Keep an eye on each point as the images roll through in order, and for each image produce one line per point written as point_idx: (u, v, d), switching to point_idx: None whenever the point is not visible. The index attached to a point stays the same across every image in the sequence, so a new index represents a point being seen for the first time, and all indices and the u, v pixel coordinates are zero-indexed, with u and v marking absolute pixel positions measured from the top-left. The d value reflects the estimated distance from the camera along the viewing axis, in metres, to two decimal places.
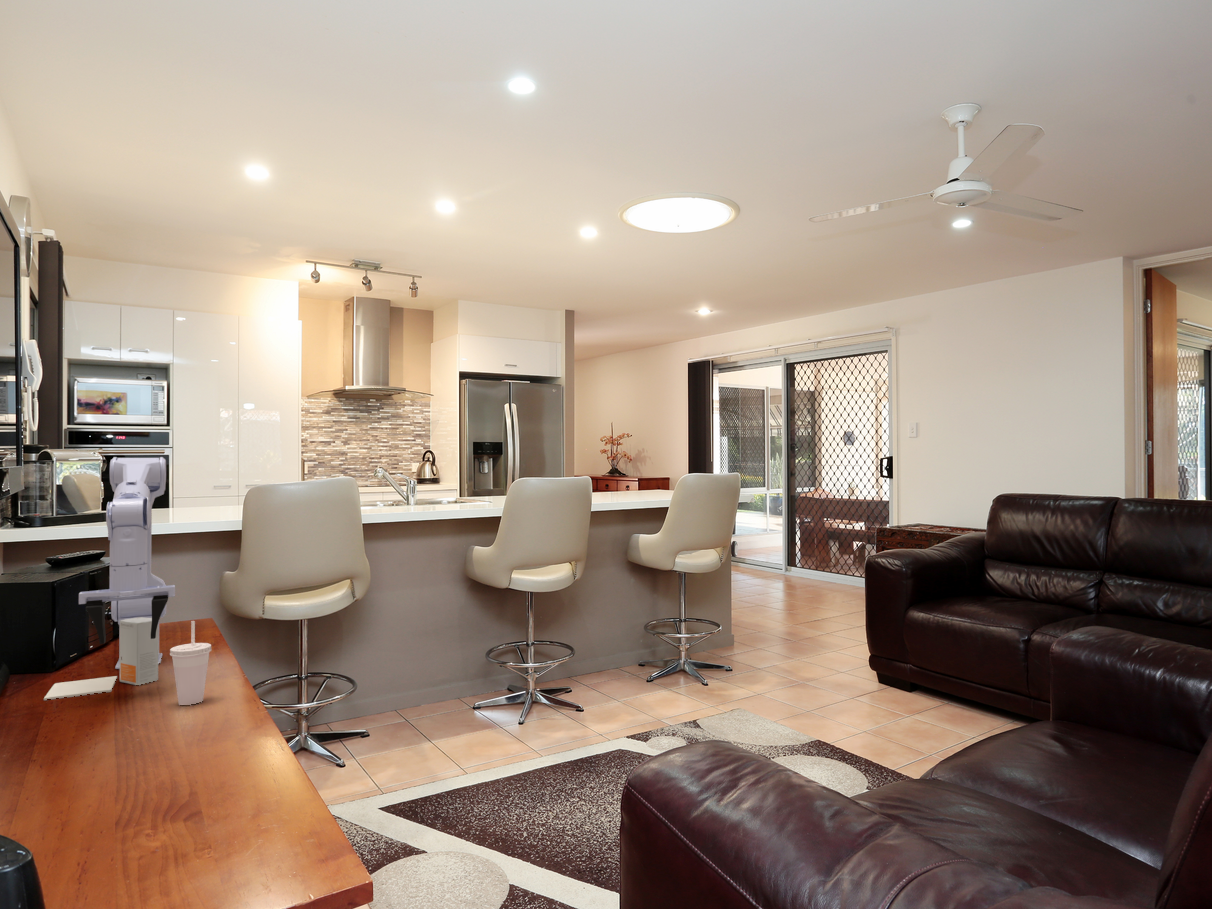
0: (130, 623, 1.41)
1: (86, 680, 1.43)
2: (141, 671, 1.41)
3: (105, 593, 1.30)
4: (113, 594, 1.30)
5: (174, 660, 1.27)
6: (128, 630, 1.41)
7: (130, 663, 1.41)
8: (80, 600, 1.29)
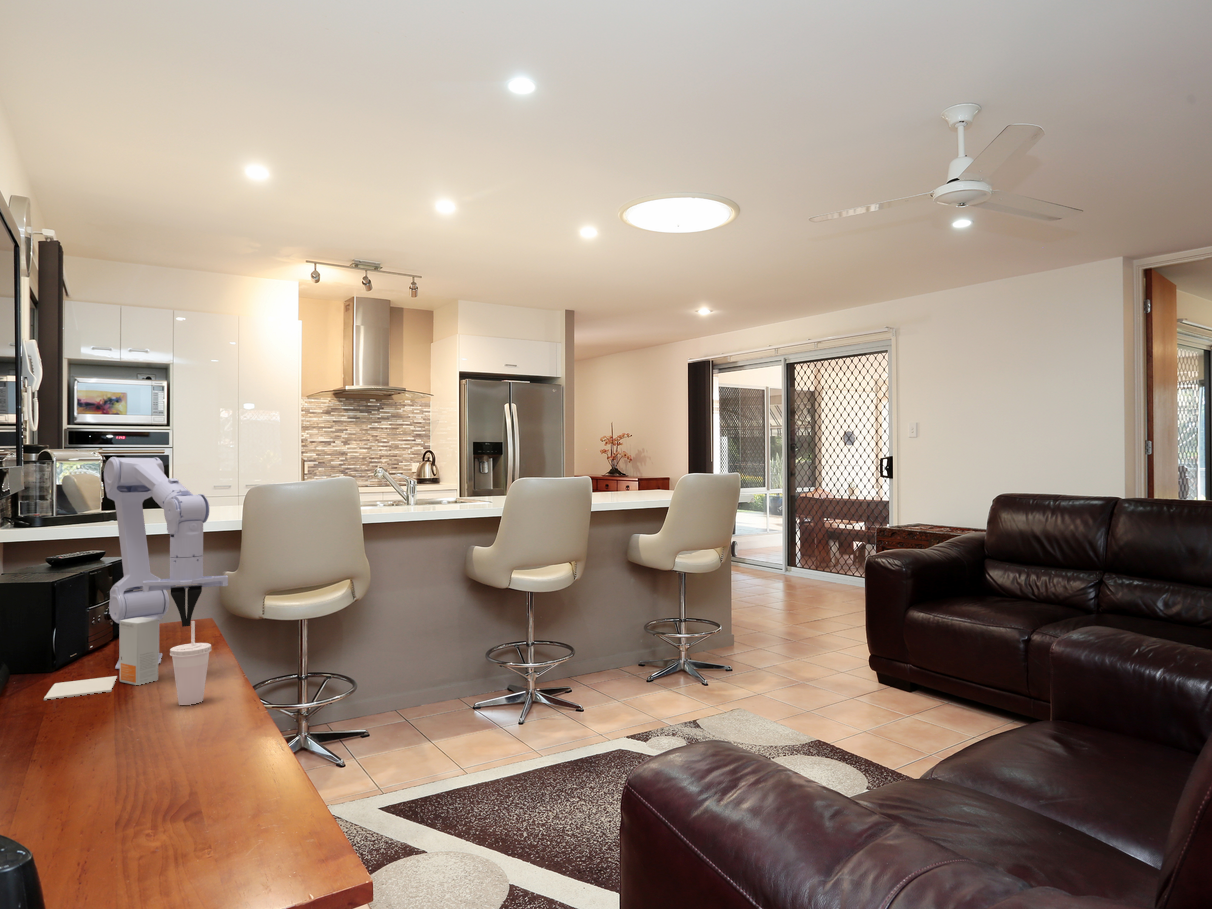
0: (130, 623, 1.41)
1: (86, 680, 1.43)
2: (141, 671, 1.41)
3: (166, 582, 1.42)
4: (174, 583, 1.42)
5: (174, 660, 1.27)
6: (128, 630, 1.41)
7: (130, 663, 1.41)
8: (144, 588, 1.41)
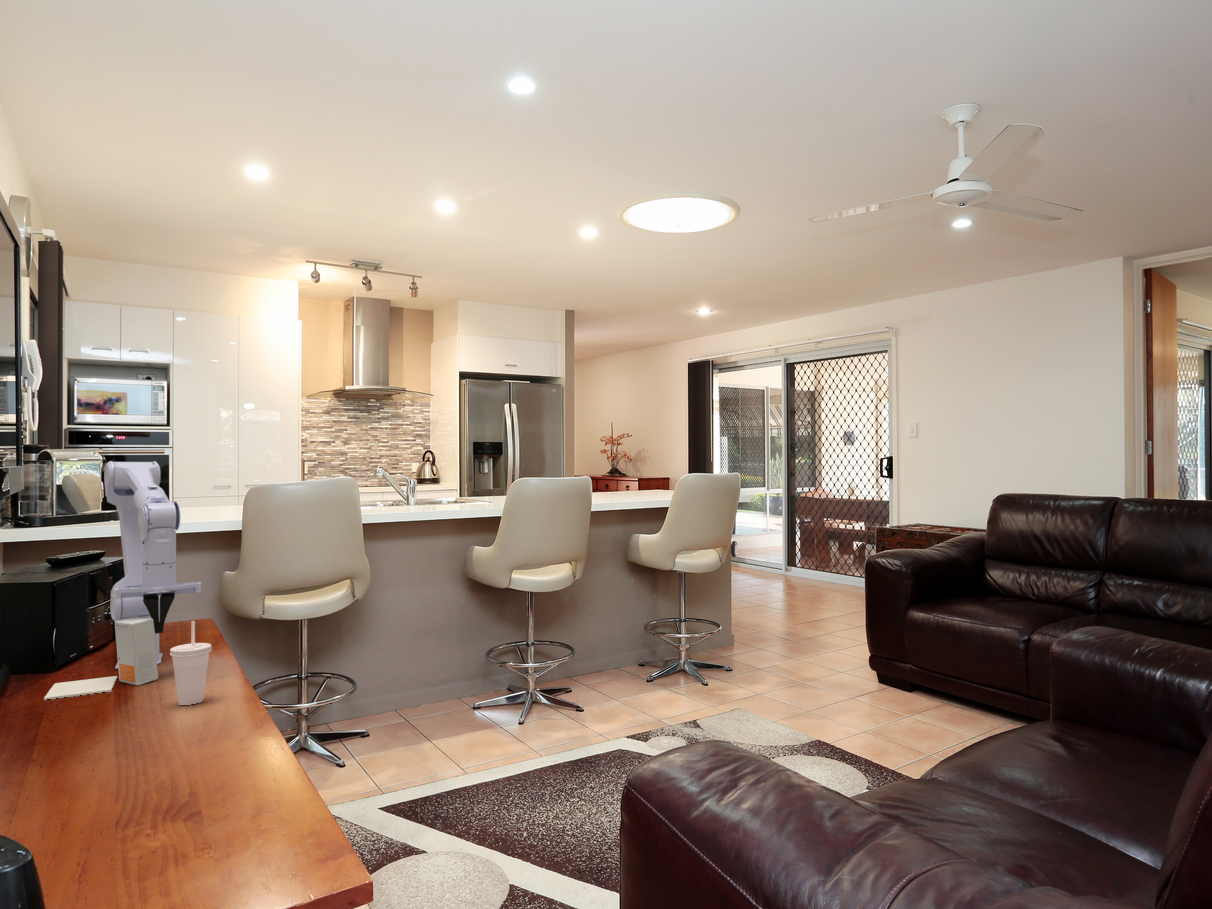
0: (125, 624, 1.40)
1: (86, 680, 1.43)
2: (140, 671, 1.40)
3: (138, 589, 1.43)
4: (146, 590, 1.43)
5: (174, 660, 1.27)
6: (123, 631, 1.41)
7: (128, 663, 1.41)
8: (116, 595, 1.42)
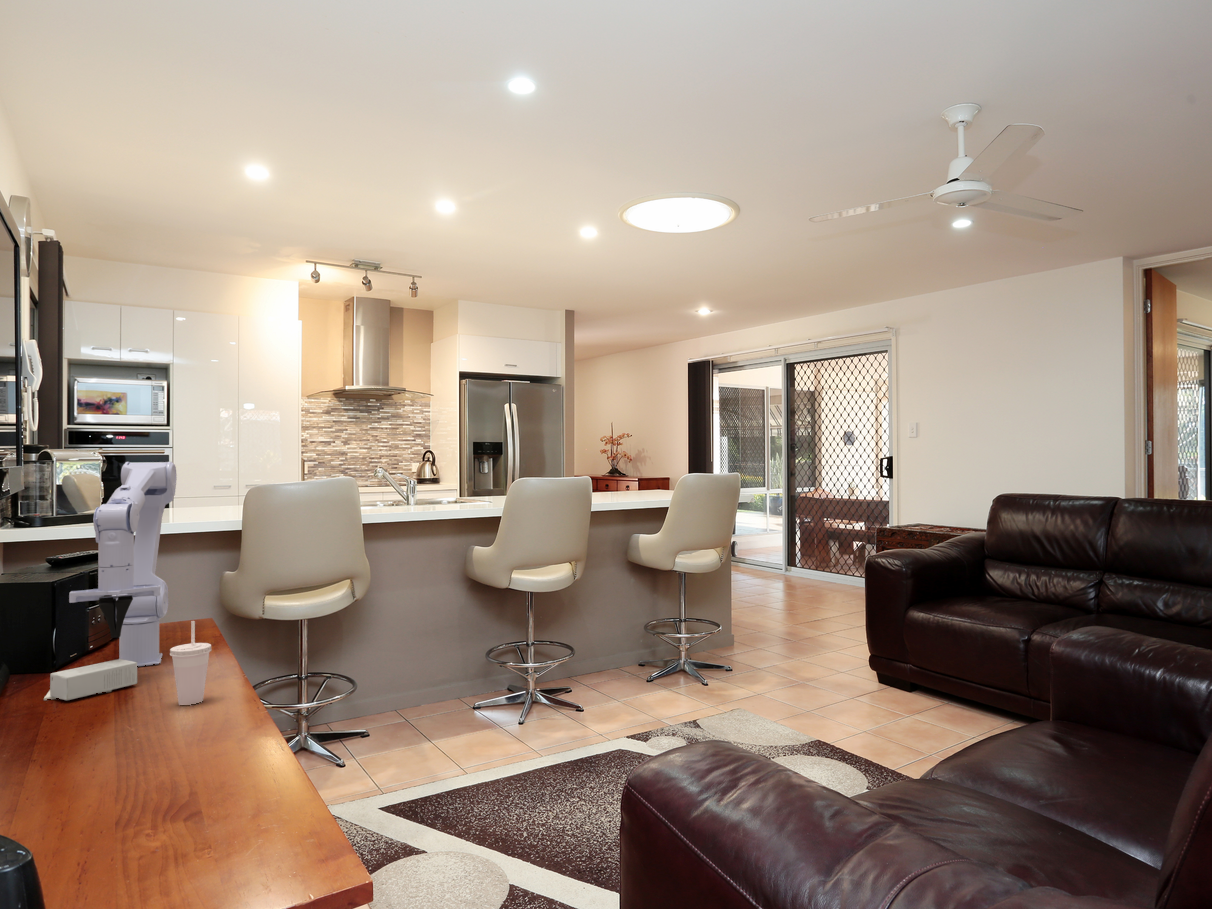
0: (61, 698, 1.31)
1: None
2: (123, 682, 1.37)
3: (94, 592, 1.39)
4: (101, 593, 1.39)
5: (174, 660, 1.27)
6: None
7: None
8: (70, 599, 1.38)
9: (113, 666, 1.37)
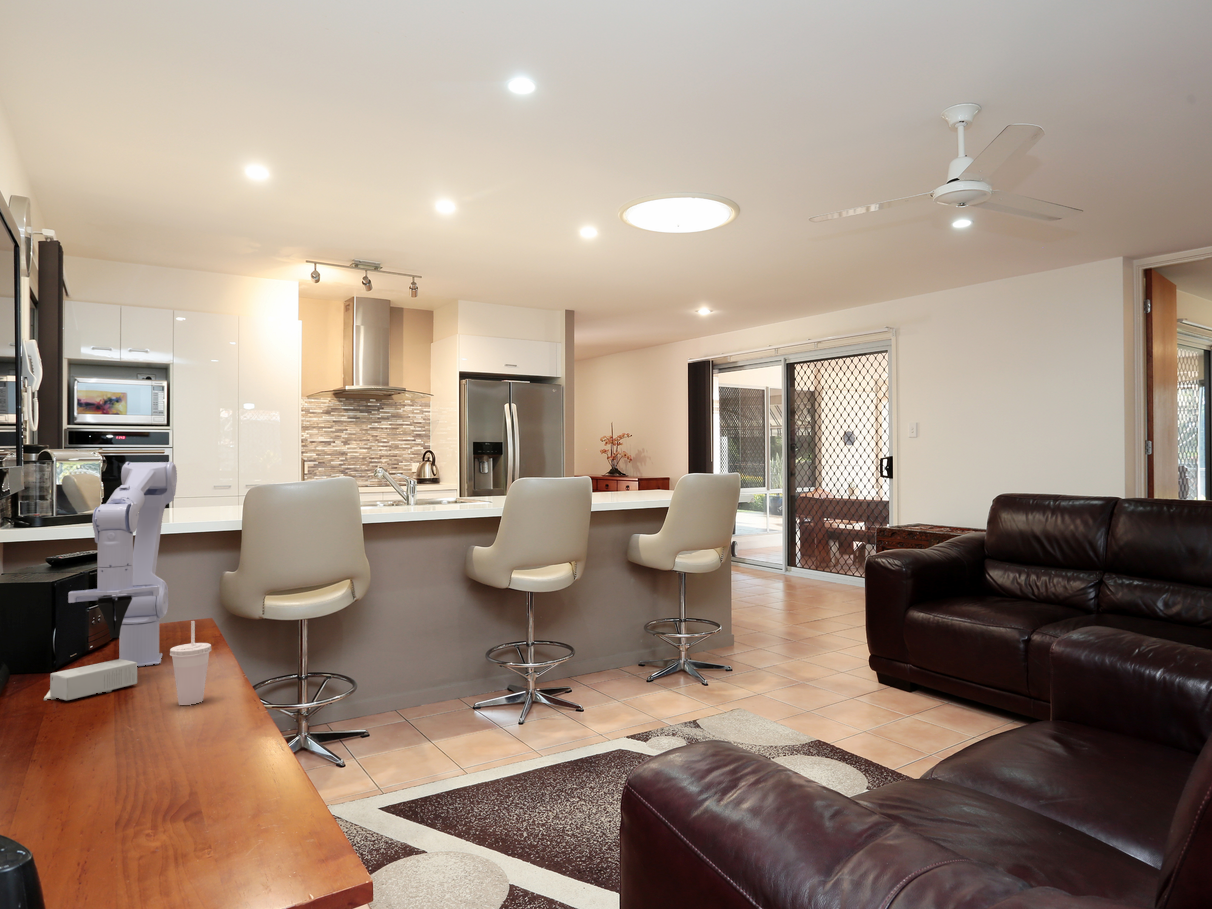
0: (61, 698, 1.31)
1: None
2: (123, 682, 1.37)
3: (93, 593, 1.39)
4: (100, 593, 1.39)
5: (174, 660, 1.27)
6: None
7: None
8: (70, 599, 1.38)
9: (113, 666, 1.37)
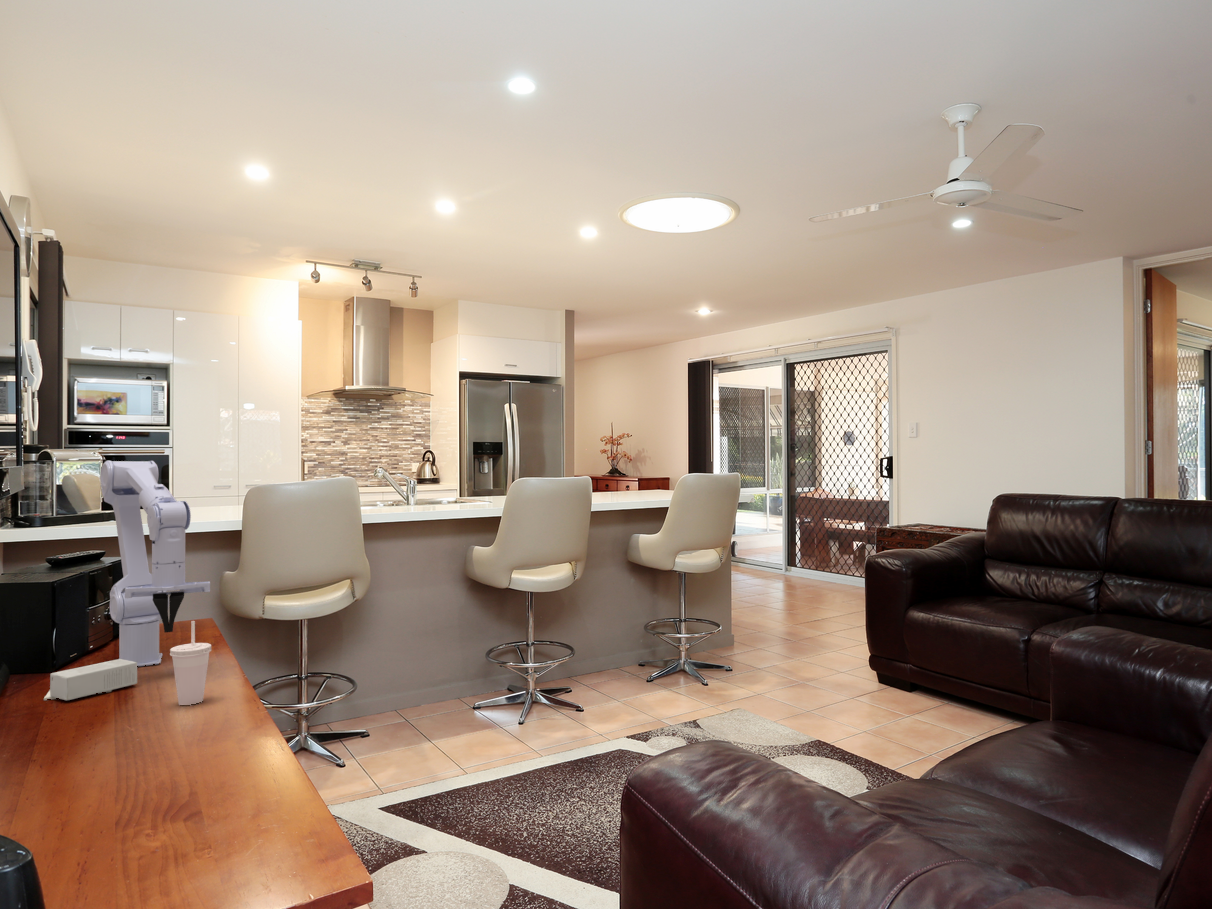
0: (61, 698, 1.31)
1: None
2: (123, 682, 1.37)
3: (148, 588, 1.43)
4: (156, 589, 1.43)
5: (174, 660, 1.27)
6: None
7: None
8: (126, 595, 1.42)
9: (113, 666, 1.37)
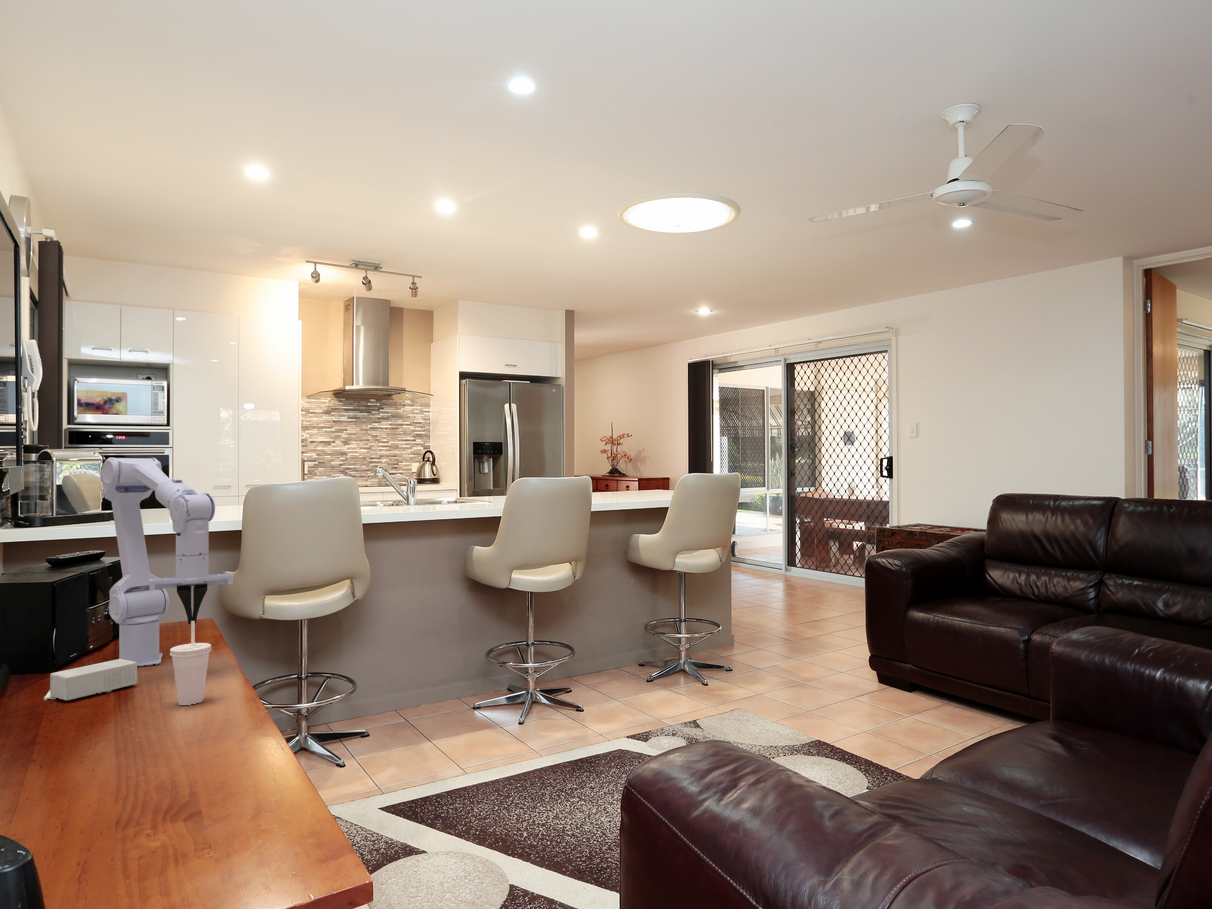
0: (61, 698, 1.31)
1: None
2: (123, 682, 1.37)
3: (172, 580, 1.44)
4: (180, 581, 1.44)
5: (174, 660, 1.27)
6: None
7: None
8: (150, 586, 1.43)
9: (113, 666, 1.37)
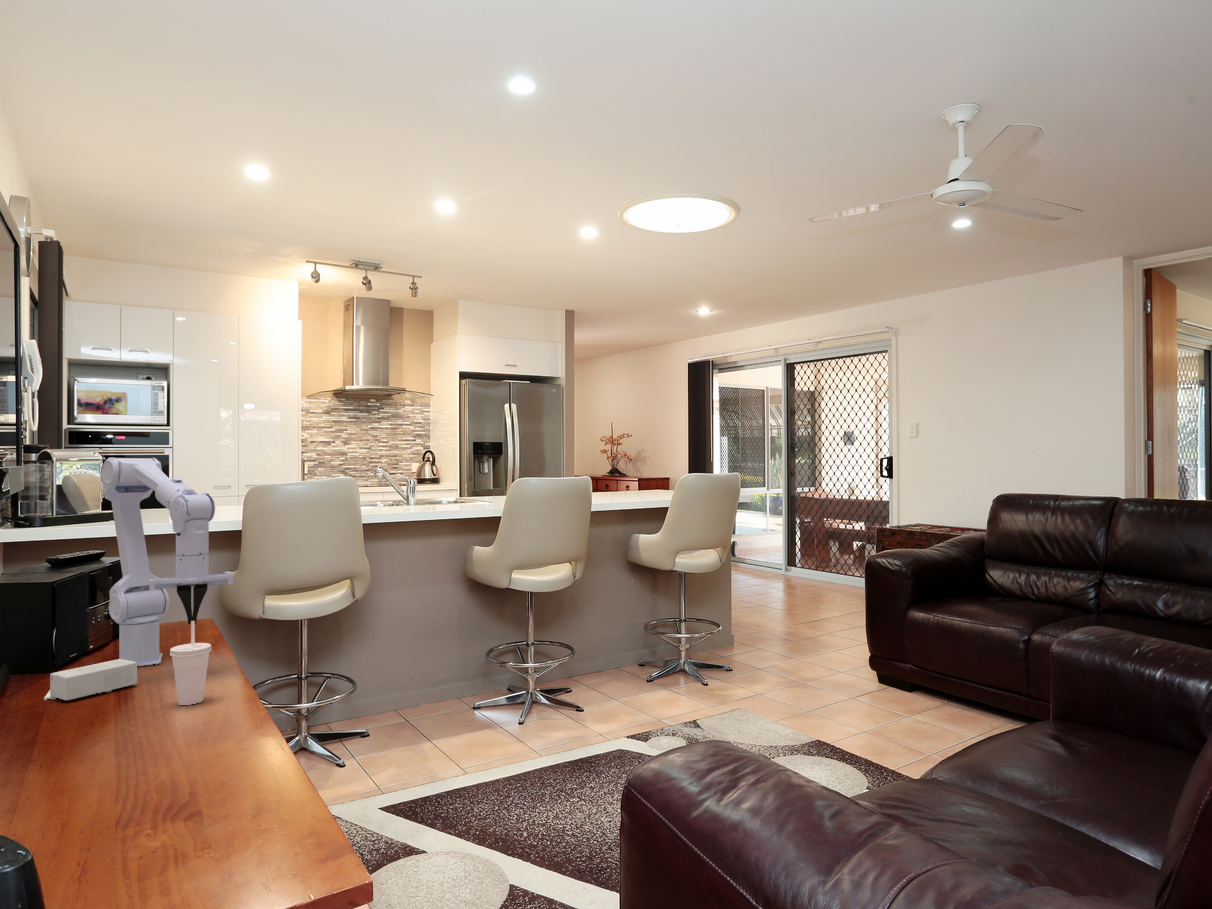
0: (61, 698, 1.31)
1: None
2: (123, 682, 1.37)
3: (172, 580, 1.44)
4: (180, 581, 1.44)
5: (174, 660, 1.27)
6: None
7: None
8: (150, 586, 1.43)
9: (113, 666, 1.37)
